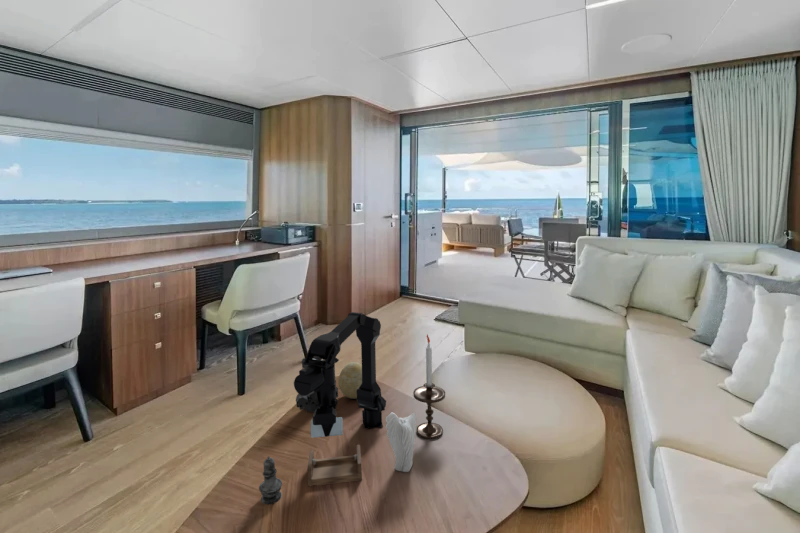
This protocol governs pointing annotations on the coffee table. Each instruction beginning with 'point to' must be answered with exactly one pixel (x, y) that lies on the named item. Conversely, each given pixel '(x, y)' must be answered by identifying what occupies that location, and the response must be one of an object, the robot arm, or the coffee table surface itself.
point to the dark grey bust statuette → (270, 483)
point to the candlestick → (429, 400)
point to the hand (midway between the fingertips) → (327, 431)
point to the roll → (336, 429)
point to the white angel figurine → (402, 439)
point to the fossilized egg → (350, 379)
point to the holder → (334, 469)
